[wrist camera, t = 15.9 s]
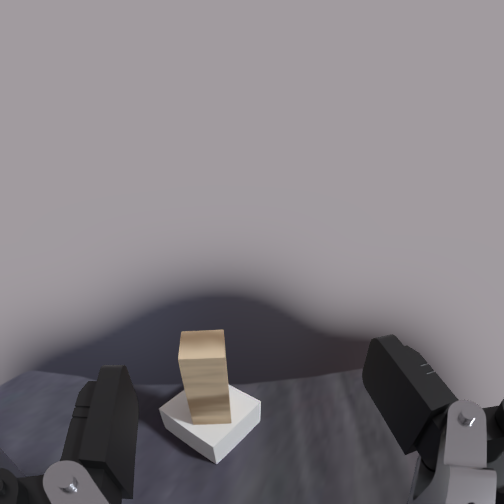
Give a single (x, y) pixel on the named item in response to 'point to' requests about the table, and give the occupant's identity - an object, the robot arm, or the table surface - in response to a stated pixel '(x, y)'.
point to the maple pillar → (205, 376)
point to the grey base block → (212, 435)
